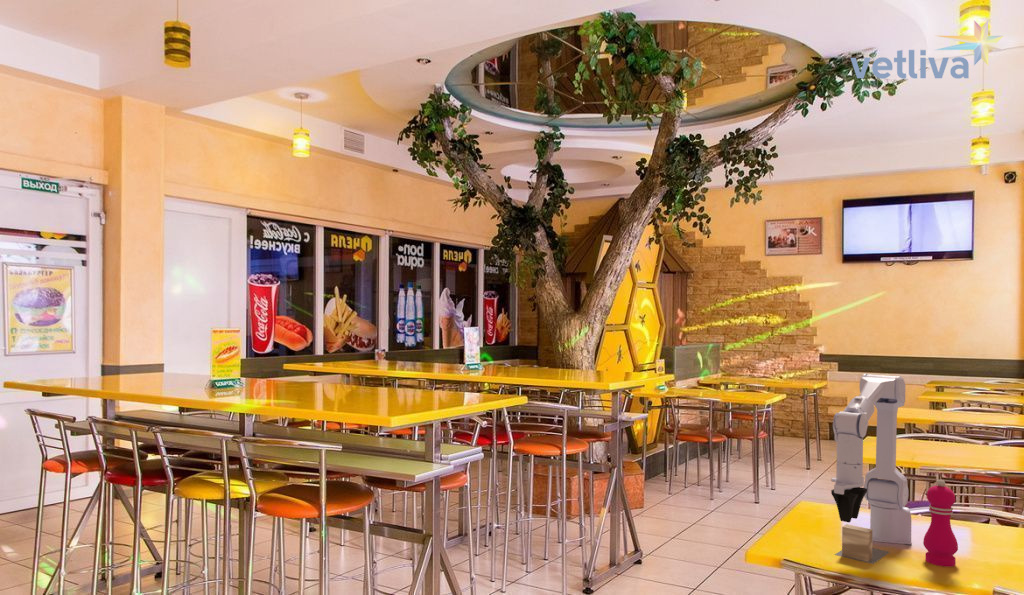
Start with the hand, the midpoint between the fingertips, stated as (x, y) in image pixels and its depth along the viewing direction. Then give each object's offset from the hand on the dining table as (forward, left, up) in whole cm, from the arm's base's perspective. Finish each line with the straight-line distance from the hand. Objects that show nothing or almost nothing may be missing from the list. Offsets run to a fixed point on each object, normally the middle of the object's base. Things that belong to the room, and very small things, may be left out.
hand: (848, 519), depth 174 cm
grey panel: (-5, -9, -10) cm, 14 cm away
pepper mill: (-22, -7, -11) cm, 25 cm away
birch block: (-3, -5, -10) cm, 12 cm away
